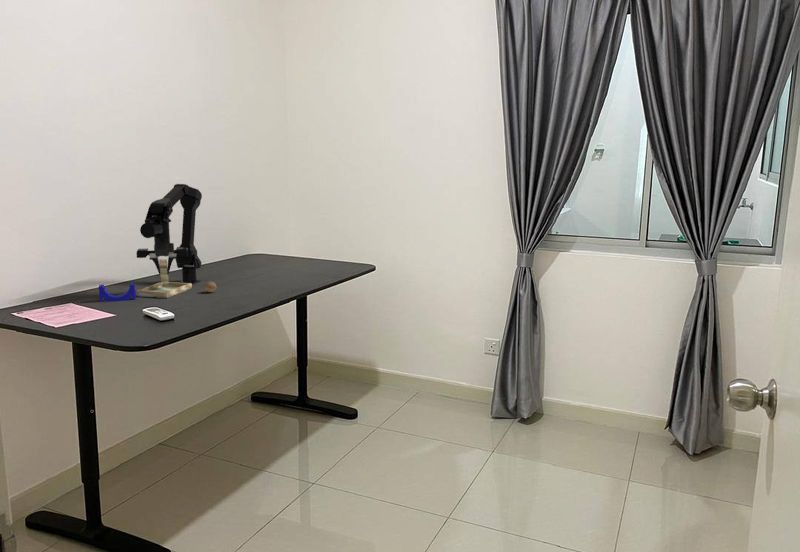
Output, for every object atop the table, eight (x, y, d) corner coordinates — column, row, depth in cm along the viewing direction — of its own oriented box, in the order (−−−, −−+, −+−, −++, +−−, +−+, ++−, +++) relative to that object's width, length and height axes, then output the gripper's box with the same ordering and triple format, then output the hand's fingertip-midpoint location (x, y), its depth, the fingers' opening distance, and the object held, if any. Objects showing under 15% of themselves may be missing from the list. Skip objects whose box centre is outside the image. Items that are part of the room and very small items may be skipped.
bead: (208, 290, 257) (207, 280, 256) (218, 291, 256) (218, 280, 255) (202, 293, 252) (202, 282, 251) (213, 293, 251) (212, 282, 251)
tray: (162, 286, 262) (162, 281, 262) (191, 288, 260) (191, 283, 259) (136, 296, 245) (136, 290, 245) (167, 298, 243) (166, 292, 242)
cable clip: (135, 297, 244) (134, 282, 242) (135, 300, 240) (134, 284, 238) (101, 299, 240) (99, 284, 239) (100, 302, 236) (98, 286, 234)
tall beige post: (161, 278, 258) (159, 259, 247) (168, 277, 258) (166, 259, 248) (161, 283, 256) (159, 265, 246) (168, 283, 257) (166, 264, 247)
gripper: (134, 238, 238) (136, 279, 241) (187, 236, 244) (189, 277, 247) (136, 234, 248) (138, 273, 251) (187, 233, 254) (188, 271, 257)
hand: (164, 274), depth 251 cm, fingers closed on tall beige post, 3 cm apart
